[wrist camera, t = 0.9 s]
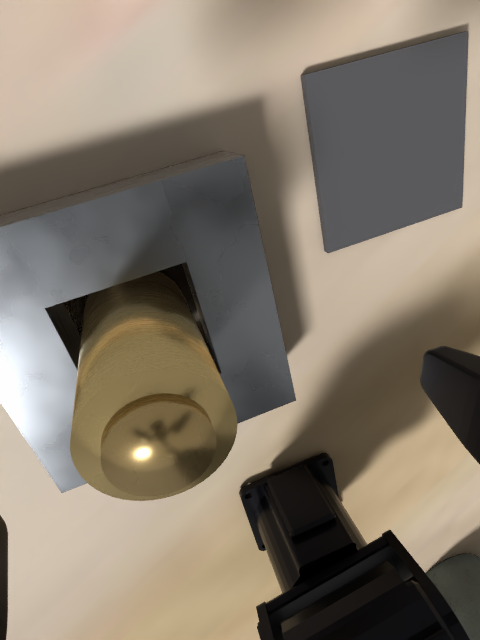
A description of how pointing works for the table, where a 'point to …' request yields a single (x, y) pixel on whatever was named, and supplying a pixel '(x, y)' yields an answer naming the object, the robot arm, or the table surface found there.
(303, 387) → the table surface
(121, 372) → the brass cylinder
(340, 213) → the mat
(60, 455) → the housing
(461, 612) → the bottle
